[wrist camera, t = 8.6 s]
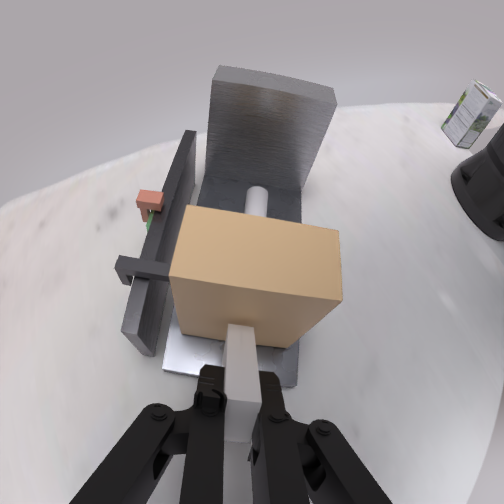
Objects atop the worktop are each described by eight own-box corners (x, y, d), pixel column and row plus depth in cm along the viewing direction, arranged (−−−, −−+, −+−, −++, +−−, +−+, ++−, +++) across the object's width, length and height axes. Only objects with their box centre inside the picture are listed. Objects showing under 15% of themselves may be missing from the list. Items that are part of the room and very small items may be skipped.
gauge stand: (291, 387, 22) (370, 357, 12) (136, 365, 21) (78, 315, 11) (297, 180, 34) (332, 88, 23) (189, 162, 33) (192, 62, 22)
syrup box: (454, 131, 52) (485, 83, 39) (469, 150, 49) (503, 102, 37) (440, 128, 50) (471, 76, 38) (456, 147, 48) (491, 95, 35)
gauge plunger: (287, 348, 22) (342, 300, 14) (127, 323, 21) (84, 259, 13) (291, 237, 27) (330, 156, 19) (157, 216, 26) (146, 126, 18)
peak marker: (162, 227, 22) (159, 203, 19) (141, 224, 22) (136, 200, 19) (166, 216, 22) (163, 192, 20) (145, 213, 22) (140, 189, 20)
